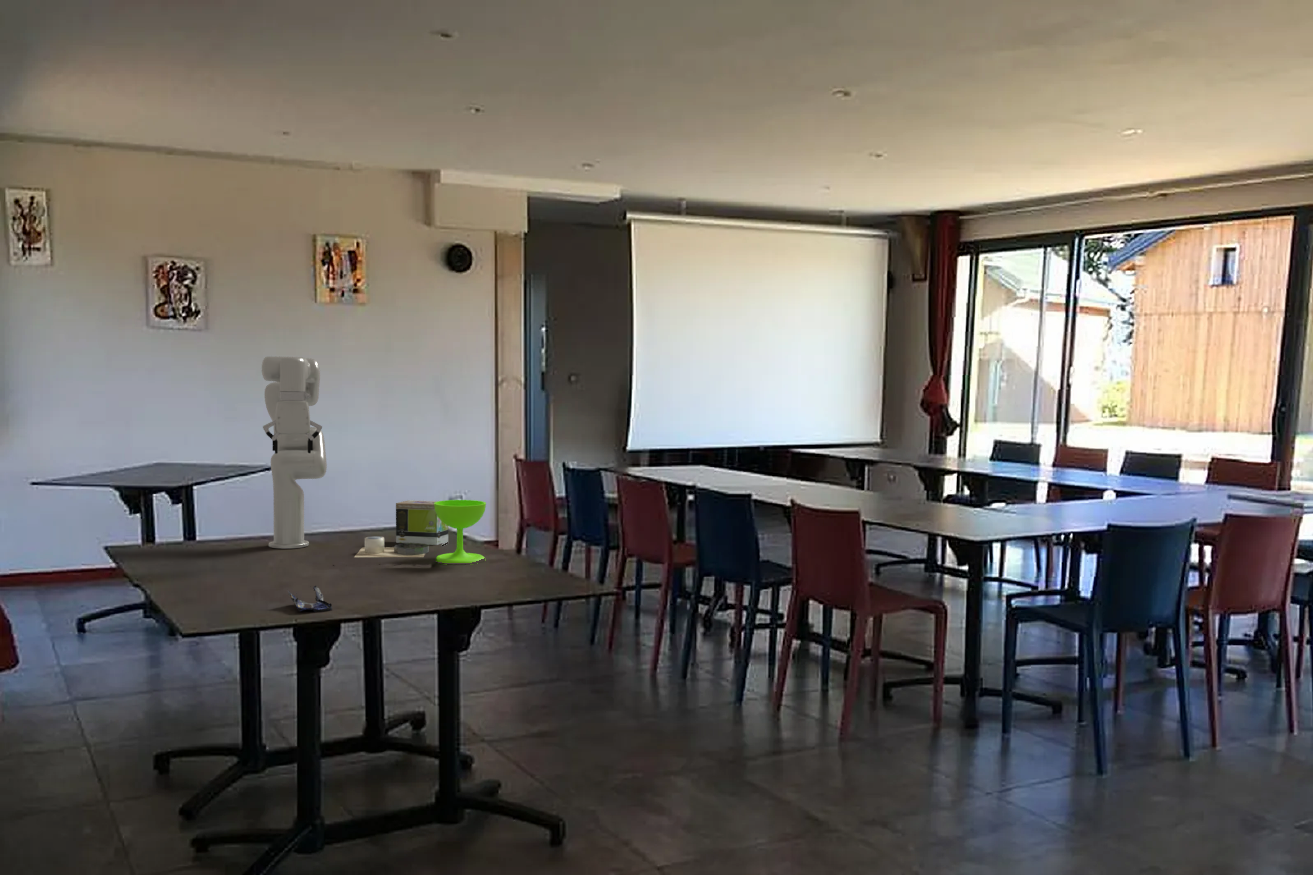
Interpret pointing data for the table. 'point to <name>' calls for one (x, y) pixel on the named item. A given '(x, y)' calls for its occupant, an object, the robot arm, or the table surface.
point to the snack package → (317, 606)
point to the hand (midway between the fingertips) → (292, 453)
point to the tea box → (419, 523)
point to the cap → (374, 545)
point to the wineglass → (459, 525)
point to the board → (387, 553)
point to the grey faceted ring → (411, 549)
